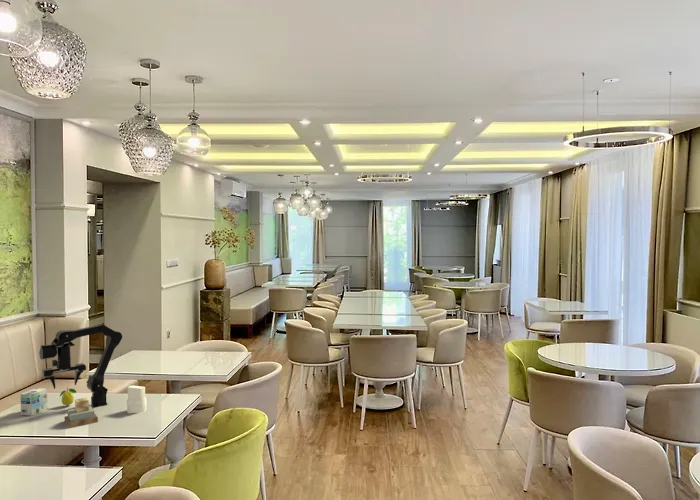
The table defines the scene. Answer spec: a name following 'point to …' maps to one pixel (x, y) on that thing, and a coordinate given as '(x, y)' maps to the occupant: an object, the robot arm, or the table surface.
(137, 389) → the cylinder with rectangular tab
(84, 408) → the oak cube
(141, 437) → the table surface
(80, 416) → the slate slab
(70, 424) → the walnut slab
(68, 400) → the lemon
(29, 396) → the light bulb box
